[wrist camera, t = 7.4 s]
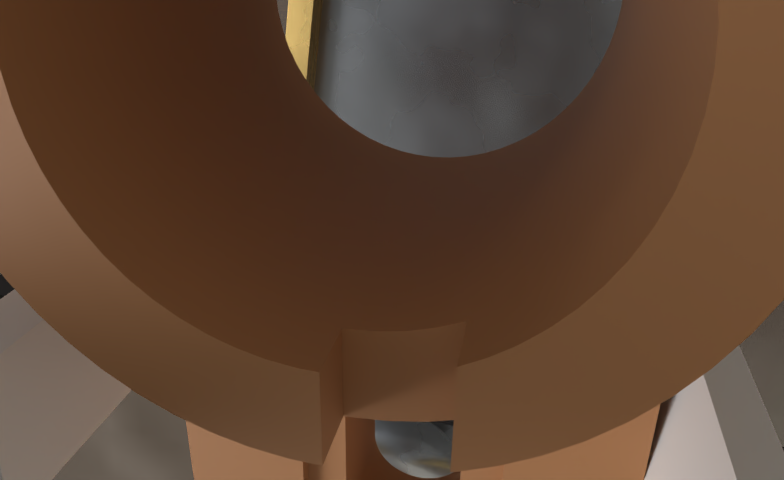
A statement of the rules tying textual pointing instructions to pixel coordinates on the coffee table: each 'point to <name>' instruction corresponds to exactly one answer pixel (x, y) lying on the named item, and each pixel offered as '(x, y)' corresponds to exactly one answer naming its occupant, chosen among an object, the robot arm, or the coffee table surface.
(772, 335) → the coffee table surface
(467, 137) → the coupling bench
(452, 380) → the bracket
